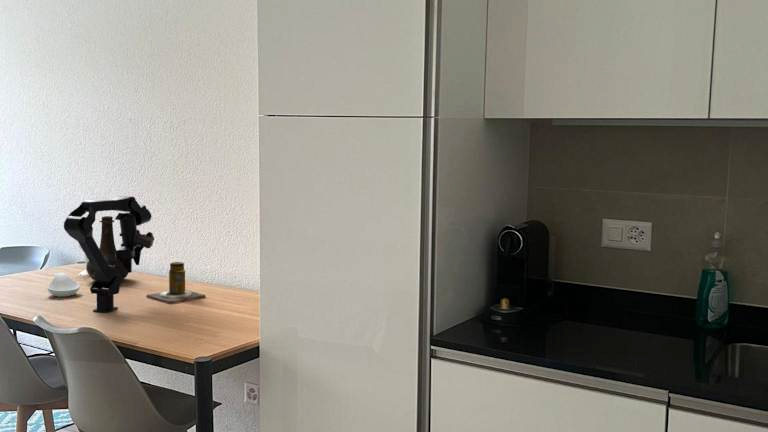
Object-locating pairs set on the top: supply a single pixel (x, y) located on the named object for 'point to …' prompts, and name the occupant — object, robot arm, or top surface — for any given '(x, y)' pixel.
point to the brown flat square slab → (175, 297)
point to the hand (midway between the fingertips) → (133, 268)
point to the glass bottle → (108, 248)
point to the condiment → (176, 279)
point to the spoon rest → (62, 285)
